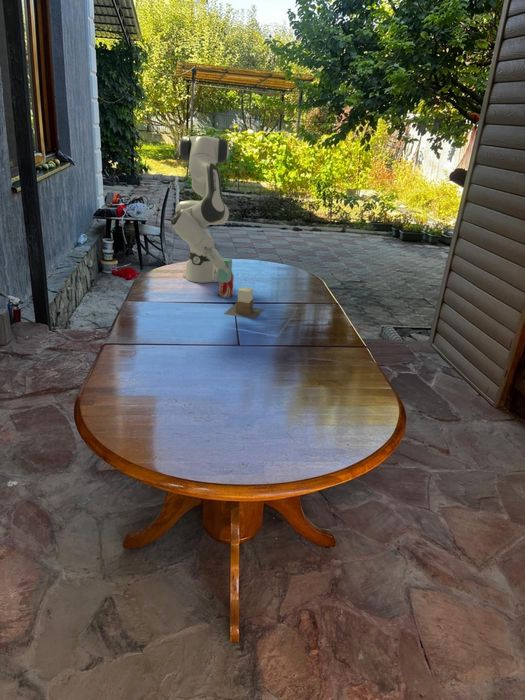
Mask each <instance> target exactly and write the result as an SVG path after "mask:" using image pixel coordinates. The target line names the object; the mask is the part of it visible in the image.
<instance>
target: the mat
mask: <svg viewBox="0 0 525 700" xmlns="http://www.w3.org/2000/svg"><path fill="white" fill-rule="evenodd" d="M264 311H265V308H258V307H253V311H252V312H251V313H250V314H249V315H247V314H241V313H236V303H235V304H233V305H232V306H231V307H230V308H228V309H227V310H226V311H225V312H224V313H223V315H226V316H233V317H239V318H245V319H251V320H256V319H257V318H258V317H259V316H260V315H261V314H262V313H263V312H264Z"/></svg>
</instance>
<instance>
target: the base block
mask: <svg viewBox="0 0 525 700" xmlns="http://www.w3.org/2000/svg"><path fill="white" fill-rule="evenodd" d="M254 302H255V300H254V299H252V301H251V302H250V303H245V302H239V301H238V299H237V300H236V301H235V305H236V313H241V314H247V315H249V314H250V313H251V312H252V311H253V308H254Z"/></svg>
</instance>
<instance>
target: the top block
mask: <svg viewBox="0 0 525 700" xmlns="http://www.w3.org/2000/svg"><path fill="white" fill-rule="evenodd" d="M253 295H254V288H250V287H246V286H245V287H244V286H243V287H240V288H239V289H238V290H237V300H238V301H239V302H245V303H250V302H251V301H252V300H253V297H254V296H253Z"/></svg>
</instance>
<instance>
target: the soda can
mask: <svg viewBox="0 0 525 700" xmlns="http://www.w3.org/2000/svg"><path fill="white" fill-rule="evenodd" d="M233 293H234V274H233V271H231V280H230V281H229V282H228V283H226V282H220V281H218V282H217V295H218V297H221V298H227V299H228V298H231V297H233Z"/></svg>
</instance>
